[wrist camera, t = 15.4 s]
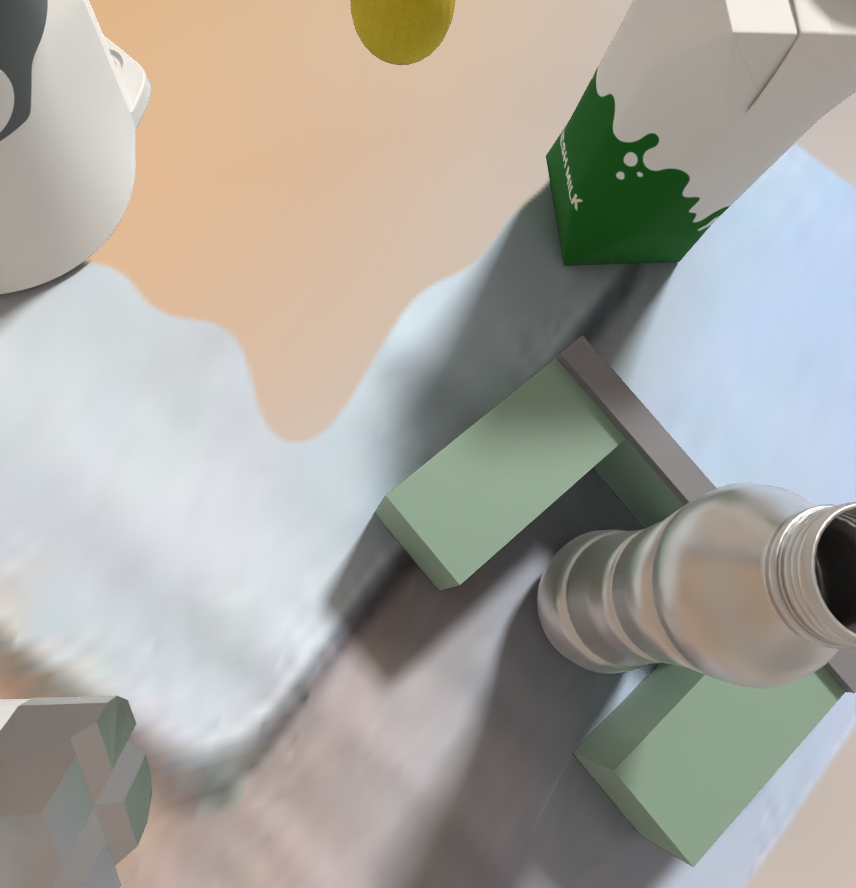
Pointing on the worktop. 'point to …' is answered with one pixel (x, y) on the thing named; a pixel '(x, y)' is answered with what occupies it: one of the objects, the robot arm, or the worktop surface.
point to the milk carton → (692, 119)
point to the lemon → (402, 27)
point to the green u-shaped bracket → (650, 501)
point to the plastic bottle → (710, 589)
